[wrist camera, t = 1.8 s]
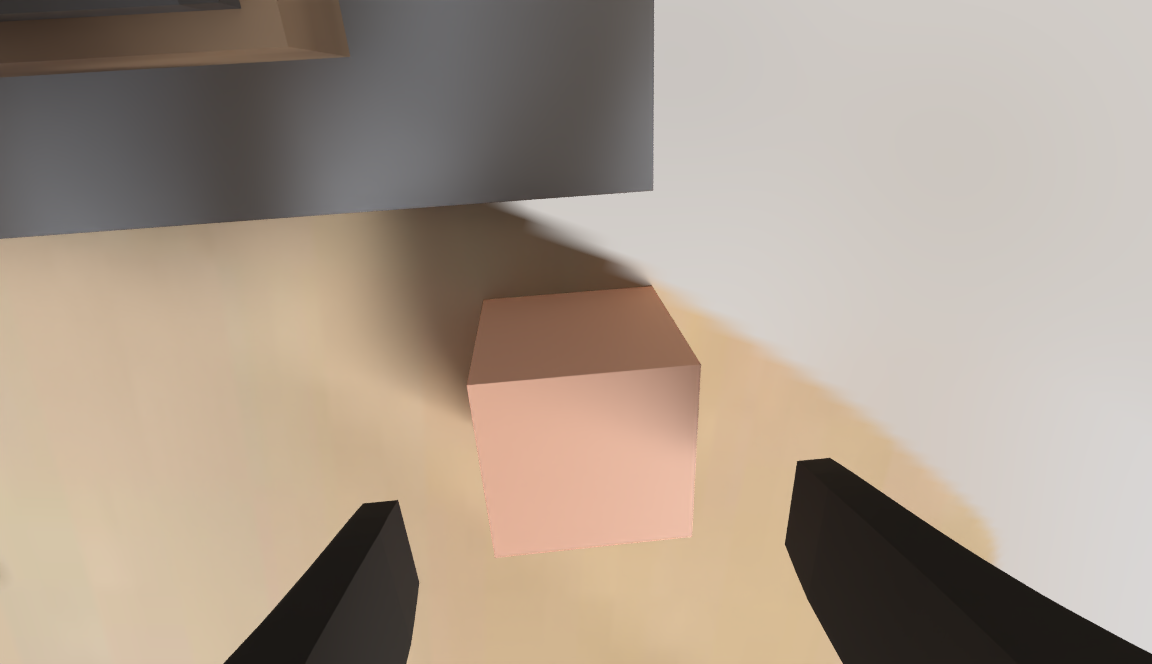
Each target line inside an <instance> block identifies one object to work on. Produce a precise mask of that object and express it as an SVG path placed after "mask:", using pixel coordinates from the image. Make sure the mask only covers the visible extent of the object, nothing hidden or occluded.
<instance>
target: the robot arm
mask: <svg viewBox="0 0 1152 664" xmlns="http://www.w3.org/2000/svg"><path fill="white" fill-rule="evenodd" d="M785 546H786V548H787V551H788V553H789V556H790V558H791V561H792V563H793V566H794V568H795V571H796V573H797V576H798V578H799V580H800V583H801V585H802V587H803V590H804V592H805V594H806V597H807V599H808V601H809V603H810V605H811V606H812V608H813V610H814V612H815V614H816V616H817V618H818V619H819V621H820V623H821V625H822V627H823V628H824V630H825V632H826V634H827V636H828V638H829V639H830V641H831V643H832V645H833V647H834V648H835V650H836V652H837V654H838V656H839V657H840V659H841V661H842V663H843V664H1152V654H1151V653H1149V652H1147V651H1145V650H1143V649H1141V648H1139V647H1137V646H1135V645H1133V644H1131V643H1129V642H1128V641H1126V640H1123V639H1122V638H1120V637H1118V636H1116V635H1114V634H1113V633H1111V632H1109V631H1107V630H1105V629H1103V628H1102V627H1100V626H1098V625H1096V624H1094V623H1092V622H1090V621H1089V620H1087V619H1085V618H1082V617H1081V616H1079V615H1077V614H1075V613H1074V612H1072V611H1070V610H1068V609H1066V608H1065V607H1063V606H1061V605H1059V604H1057V603H1056V602H1054V601H1052V600H1051V599H1049V598H1047V597H1045V596H1043V595H1041V594H1040V593H1038V592H1037V591H1035V590H1033V589H1031V588H1030V587H1028V586H1026V585H1025V584H1023V583H1022V582H1020V581H1018V580H1017V579H1015V578H1013V577H1011V576H1010V575H1008V574H1007V573H1005V572H1003V571H1002V570H1000V569H998V568H997V567H995V566H993V565H992V564H990V563H988V562H987V561H985V560H984V559H982V558H980V557H979V556H977V555H976V554H974V553H972V552H971V551H969V550H968V549H966V548H965V547H963V546H961V545H960V544H958V543H957V542H955V541H954V540H952V539H951V538H949V537H948V536H946V535H944V534H943V533H941V532H940V531H938V530H937V529H935V528H934V527H932V526H931V525H929V524H928V523H926V522H925V521H923V520H922V519H920V518H919V517H917V516H916V515H914V514H913V513H911V512H910V511H908V510H907V509H905V508H904V507H902V506H901V505H900V504H898V503H897V502H895V501H894V500H892V499H891V498H889V497H888V496H886V495H885V494H883V493H882V492H880V491H879V490H878V489H876V488H875V487H873V486H872V485H870V484H869V483H867V482H866V481H864V480H863V479H861V478H860V477H858V476H857V475H855V474H854V473H853V472H851V471H850V470H848V469H846V468H845V467H843V466H842V465H840V464H839V463H837V462H836V461H834V460H832V459H831V458H824V459H814V460H804V461H797V466H796V473H795V480H794V487H793V493H792V500H791V507H790V513H789V520H788V527H787V534H786V540H785ZM418 588H419V580H418V576H417V572H416V568H415V564H414V560H413V556H412V553H411V549H410V545H409V541H408V537H407V533H406V529H405V525H404V521H403V517H402V514H401V510H400V506H399V502H398V500H395V501H385V502H375V503H364V504H362V506H361V507H360V508H359V509H358V510H357V511H356V512H355V514H354V515H353V516H352V517H351V518H350V519H349V521H348V522H347V523H346V524H345V525H344V527H343V528H342V529H341V530H340V531H339V533H338V534H337V535H336V536H335V537H334V539H333V540H332V541H331V542H330V543H329V545H328V546H327V547H326V548H325V550H324V551H323V552H322V553H321V554H320V556H319V557H318V558H317V559H316V560H315V562H314V563H313V564H312V565H311V566H310V567H309V569H308V570H307V571H306V572H305V573H304V575H303V576H302V577H301V578H300V579H299V580H298V582H297V583H296V584H295V585H294V586H293V587H292V588H291V590H290V591H289V592H288V593H287V594H286V595H285V597H284V598H283V599H282V600H281V601H280V602H279V603H278V605H277V606H276V607H275V608H274V609H273V610H272V612H271V613H270V614H269V615H268V616H267V617H266V618H265V619H264V621H263V622H262V623H261V624H260V625H259V626H258V627H257V628H256V629H255V630H254V631H253V632H252V634H251V635H250V636H249V637H248V638H247V639H246V640H245V641H244V642H243V643H242V644H241V645H240V646H239V647H238V649H237V650H236V651H235V652H234V653H233V654H232V655H231V656H230V657H229V658H228V659H227V660H226V661H225V663H224V664H406V662H407V658H408V654H409V650H410V646H411V640H412V634H413V627H414V620H415V612H416V604H417V596H418Z"/></svg>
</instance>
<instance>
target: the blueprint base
mask: <svg viewBox="0 0 1152 664" xmlns="http://www.w3.org/2000/svg"><path fill="white" fill-rule="evenodd" d="M653 88H654V0H0V239H3V238H17V237H30V236H44V235H58V234H71V233H85V232H98V231H112V230H125V229H139V228H153V227H166V226H180V225H193V224H207V223H220V222H234V221H247V220H261V219H275V218H288V217H302V216H315V215H329V214H342V213H356V212H370V211H383V210H397V209H410V208H424V207H437V206H451V205H464V204H478V203H492V202H505V201H519V200H532V199H546V198H558V197H573V196H587V195H600V194H613V193H627V192H641V191H653V105H654V100H653V99H654V96H653V95H654V89H653Z"/></svg>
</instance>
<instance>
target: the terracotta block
mask: <svg viewBox="0 0 1152 664" xmlns="http://www.w3.org/2000/svg"><path fill="white" fill-rule="evenodd" d="M700 371H701V364H700V362H699V361H698V359H697V357H696V356H695V354H694V353H693V351H692V349H691V348H690V346H689V345H688V343H687V341H686V340H685V338H684V336H683V335H682V333H681V332H680V330H679V328H678V327H677V325H676V324H675V322H674V320H673V319H672V317H671V316H670V314H669V312H668V311H667V309H666V308H665V306H664V304H663V303H662V301H661V299H660V298H659V296H658V295H657V293H656V291H655V290H654V288H653V287H652V286H646V287H633V288H621V289H609V290H596V291H584V292H572V293H559V294H547V295H535V296H522V297H510V298H498V299H485V300H483V305H482V310H481V315H480V320H479V325H478V330H477V335H476V341H475V346H474V351H473V356H472V361H471V366H470V371H469V376H468V381H467V391H468V397H469V403H470V409H471V415H472V421H473V427H474V433H475V439H476V445H477V452H478V458H479V464H480V470H481V476H482V482H483V488H484V494H485V500H486V506H487V512H488V518H489V524H490V531H491V537H492V543H493V549H494V555H495V558H498V557H507V556H517V555H526V554H535V553H545V552H554V551H563V550H573V549H582V548H591V547H601V546H610V545H619V544H629V543H638V542H647V541H657V540H666V539H675V538H685V537H692V527H693V507H694V488H695V468H696V449H697V429H698V410H699V390H700Z"/></svg>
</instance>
